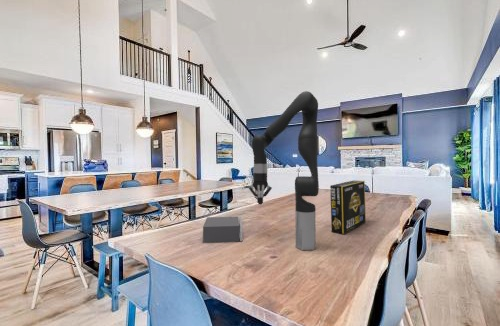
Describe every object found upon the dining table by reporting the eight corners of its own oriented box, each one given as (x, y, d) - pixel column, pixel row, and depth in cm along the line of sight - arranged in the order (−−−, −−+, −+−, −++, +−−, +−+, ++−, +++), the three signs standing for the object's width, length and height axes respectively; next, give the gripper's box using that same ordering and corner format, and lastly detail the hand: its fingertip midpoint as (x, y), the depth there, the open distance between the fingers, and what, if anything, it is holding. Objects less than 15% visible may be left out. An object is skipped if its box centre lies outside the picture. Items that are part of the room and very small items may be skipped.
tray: (241, 229, 149) (241, 216, 149) (242, 241, 129) (242, 226, 129) (210, 230, 148) (210, 217, 148) (206, 242, 128) (206, 227, 128)
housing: (238, 230, 149) (238, 216, 149) (239, 241, 129) (239, 225, 129) (207, 231, 148) (207, 217, 148) (203, 242, 128) (203, 226, 128)
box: (344, 235, 138) (344, 185, 137) (329, 232, 144) (329, 184, 143) (366, 223, 163) (366, 181, 162) (353, 220, 168) (353, 180, 167)
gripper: (270, 172, 144) (270, 203, 144) (247, 172, 142) (247, 203, 142) (273, 172, 136) (273, 205, 136) (249, 172, 134) (249, 205, 134)
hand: (260, 204), depth 139 cm, fingers closed
